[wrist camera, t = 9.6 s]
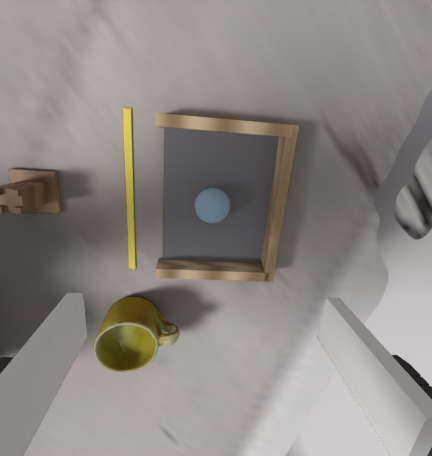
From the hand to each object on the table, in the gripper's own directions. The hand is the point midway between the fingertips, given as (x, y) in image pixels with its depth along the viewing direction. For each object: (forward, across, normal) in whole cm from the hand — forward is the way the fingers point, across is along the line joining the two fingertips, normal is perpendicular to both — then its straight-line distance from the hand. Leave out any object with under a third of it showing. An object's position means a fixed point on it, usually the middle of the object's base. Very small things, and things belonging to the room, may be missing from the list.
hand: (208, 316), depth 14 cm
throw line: (+27, -10, 0) cm, 29 cm away
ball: (+24, +2, 0) cm, 24 cm away
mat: (+27, +3, 0) cm, 27 cm away
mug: (+27, -8, -21) cm, 35 cm away
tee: (+27, -23, 0) cm, 36 cm away
